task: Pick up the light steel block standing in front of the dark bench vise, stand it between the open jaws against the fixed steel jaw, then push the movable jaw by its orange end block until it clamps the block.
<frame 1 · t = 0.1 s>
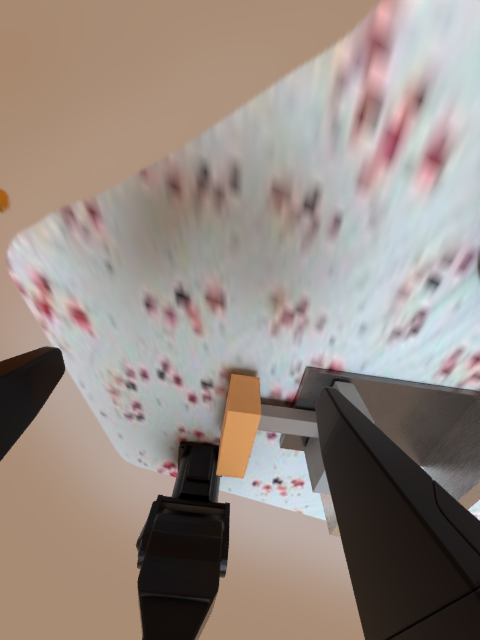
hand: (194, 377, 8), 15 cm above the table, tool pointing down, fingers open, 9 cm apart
movable jaw: (283, 432, 26), point 4 cm above the table, slide at 7.0 cm
vise: (410, 424, 30), on the table
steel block: (340, 470, 35), on the table
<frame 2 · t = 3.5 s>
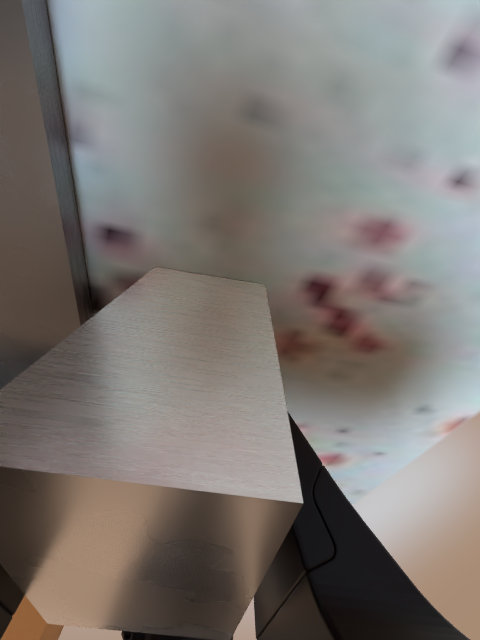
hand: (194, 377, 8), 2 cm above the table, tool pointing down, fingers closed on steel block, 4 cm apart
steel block: (203, 344, 10), on the table, touching gripper
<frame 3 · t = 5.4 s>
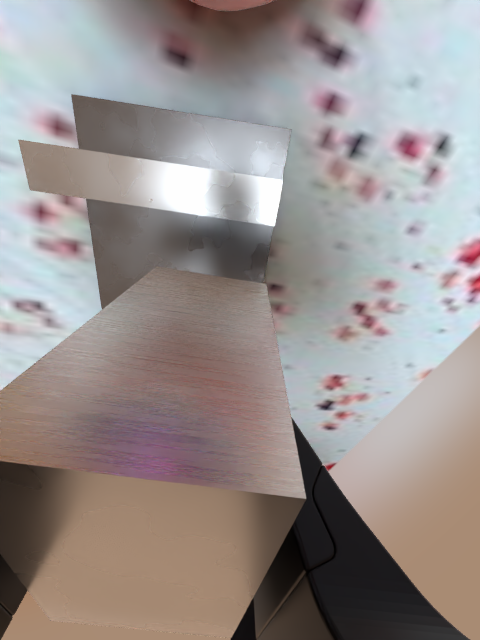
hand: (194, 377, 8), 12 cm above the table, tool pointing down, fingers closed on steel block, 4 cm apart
vise: (182, 260, 19), on the table
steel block: (204, 343, 10), point 10 cm above the table, touching gripper
when the fingers open (4 cm above the table, at t = 7.5 s): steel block stays where it is, resting on vise.
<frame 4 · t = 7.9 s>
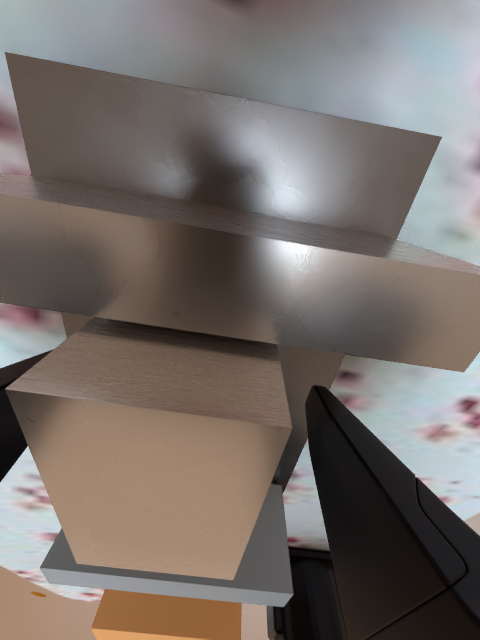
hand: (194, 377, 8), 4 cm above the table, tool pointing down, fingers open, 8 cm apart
movable jaw: (178, 564, 17), point 4 cm above the table, slide at 7.0 cm
vise: (208, 337, 12), on the table
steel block: (207, 332, 11), point 1 cm above the table, touching vise
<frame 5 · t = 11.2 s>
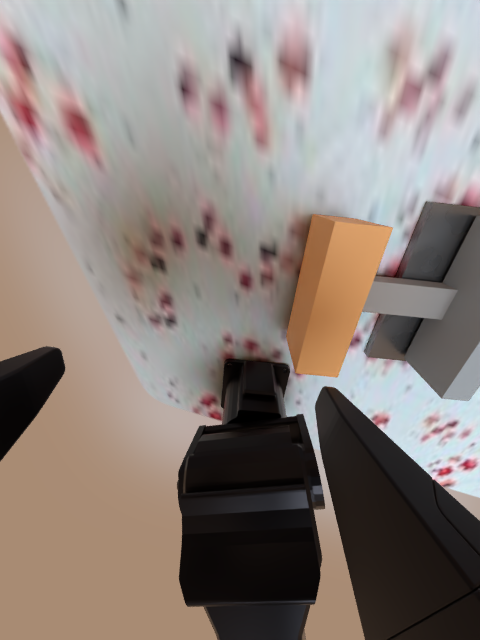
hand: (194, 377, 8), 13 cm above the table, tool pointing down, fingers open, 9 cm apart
movable jaw: (395, 303, 17), point 4 cm above the table, slide at 7.0 cm
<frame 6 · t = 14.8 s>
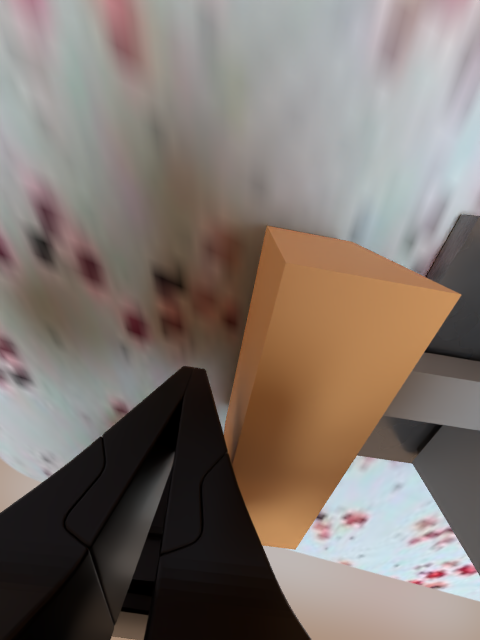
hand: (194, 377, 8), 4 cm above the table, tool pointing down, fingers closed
movable jaw: (417, 413, 9), point 4 cm above the table, slide at 6.0 cm, touching gripper
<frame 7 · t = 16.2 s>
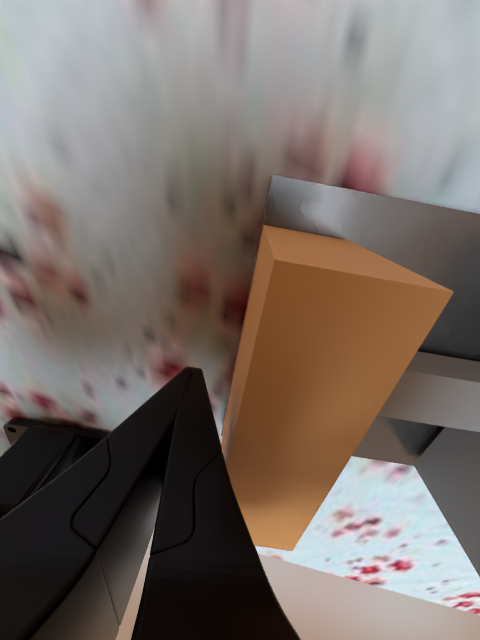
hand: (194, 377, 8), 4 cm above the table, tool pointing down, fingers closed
movable jaw: (416, 414, 9), point 4 cm above the table, slide at -1.0 cm, touching gripper, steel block
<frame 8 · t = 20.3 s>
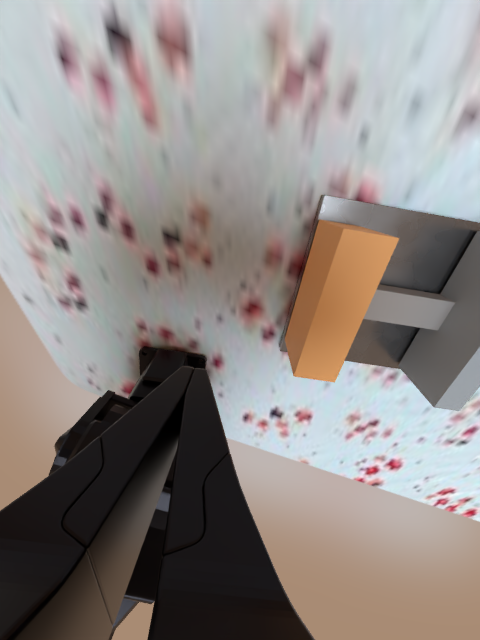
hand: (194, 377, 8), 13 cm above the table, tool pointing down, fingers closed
movable jaw: (395, 312, 17), point 4 cm above the table, slide at -1.0 cm, touching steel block
vise: (467, 309, 21), on the table
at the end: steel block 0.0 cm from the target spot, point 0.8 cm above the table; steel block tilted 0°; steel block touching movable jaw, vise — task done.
